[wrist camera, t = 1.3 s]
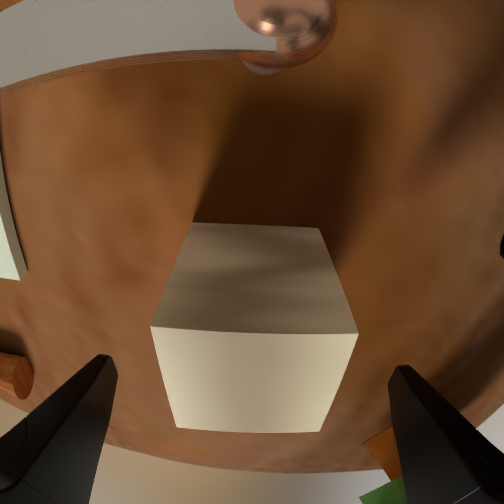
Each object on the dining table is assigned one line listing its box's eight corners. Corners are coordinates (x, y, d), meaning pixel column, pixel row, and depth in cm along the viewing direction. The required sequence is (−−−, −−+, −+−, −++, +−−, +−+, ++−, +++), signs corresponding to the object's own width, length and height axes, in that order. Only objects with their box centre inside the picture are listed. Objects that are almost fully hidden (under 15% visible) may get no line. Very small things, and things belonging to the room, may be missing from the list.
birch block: (318, 227, 12) (359, 333, 7) (302, 322, 15) (319, 431, 10) (192, 222, 12) (150, 326, 7) (198, 318, 15) (177, 427, 10)
